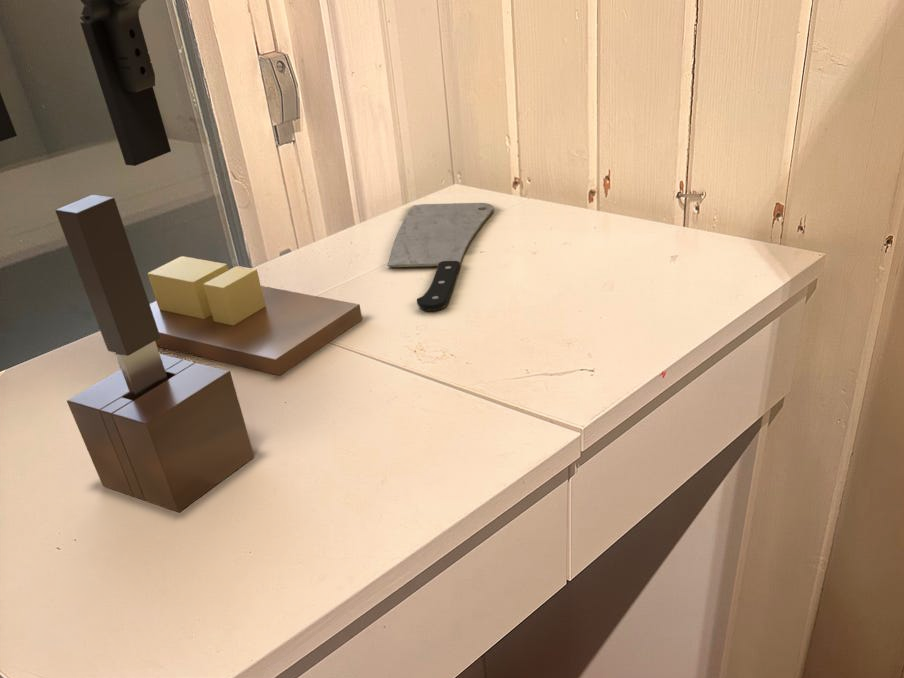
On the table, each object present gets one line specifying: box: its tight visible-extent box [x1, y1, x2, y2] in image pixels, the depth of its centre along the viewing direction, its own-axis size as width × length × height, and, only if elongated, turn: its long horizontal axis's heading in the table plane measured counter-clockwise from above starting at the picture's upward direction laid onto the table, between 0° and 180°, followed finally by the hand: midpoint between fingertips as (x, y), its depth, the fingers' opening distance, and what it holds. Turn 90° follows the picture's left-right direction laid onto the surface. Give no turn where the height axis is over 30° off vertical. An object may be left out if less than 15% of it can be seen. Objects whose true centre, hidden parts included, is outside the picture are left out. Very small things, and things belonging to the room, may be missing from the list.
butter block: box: [147, 255, 230, 319], centre depth 86 cm, size 6×4×4 cm
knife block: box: [66, 353, 255, 513], centre depth 66 cm, size 8×8×7 cm
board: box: [149, 285, 363, 376], centre depth 86 cm, size 20×12×2 cm, turn 59°
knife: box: [54, 194, 168, 401], centre depth 62 cm, size 2×3×19 cm, turn 149°
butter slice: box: [203, 265, 266, 326], centre depth 84 cm, size 2×4×4 cm, turn 149°
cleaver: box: [386, 202, 495, 311], centre depth 96 cm, size 29×1×10 cm
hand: (68, 150), depth 53 cm, fingers open, 13 cm apart
